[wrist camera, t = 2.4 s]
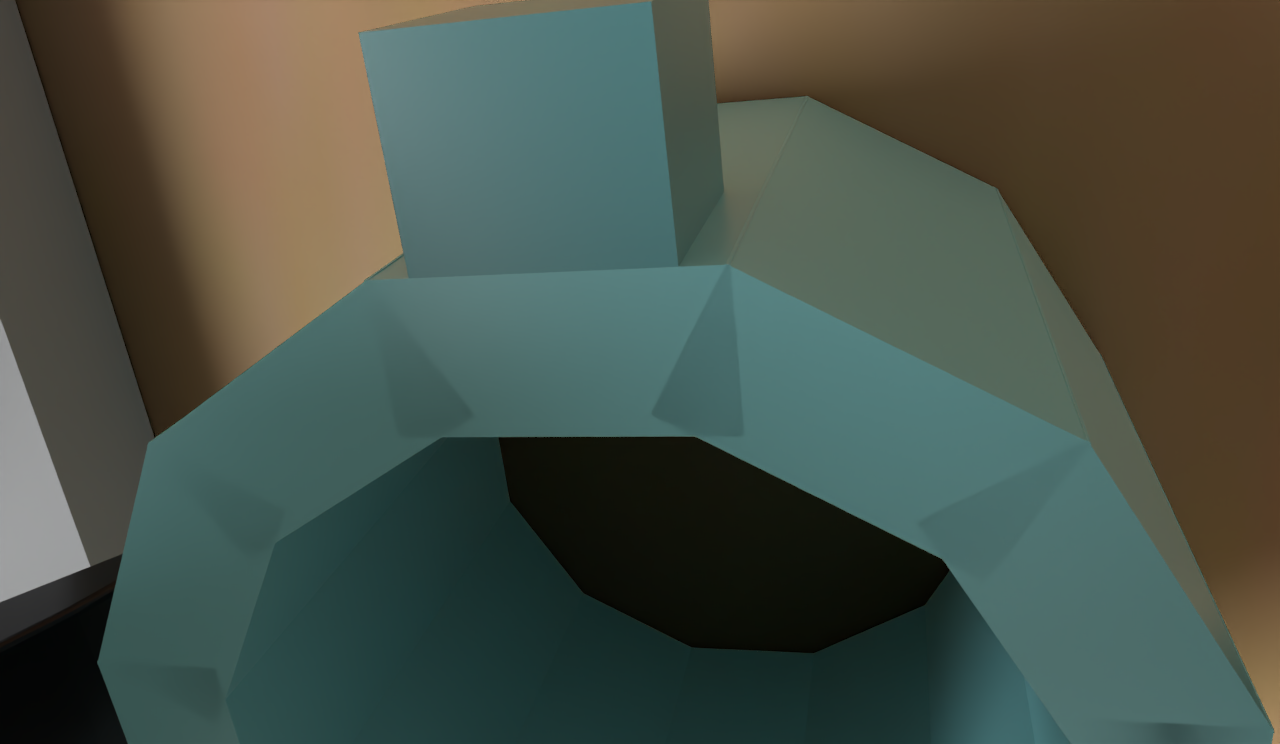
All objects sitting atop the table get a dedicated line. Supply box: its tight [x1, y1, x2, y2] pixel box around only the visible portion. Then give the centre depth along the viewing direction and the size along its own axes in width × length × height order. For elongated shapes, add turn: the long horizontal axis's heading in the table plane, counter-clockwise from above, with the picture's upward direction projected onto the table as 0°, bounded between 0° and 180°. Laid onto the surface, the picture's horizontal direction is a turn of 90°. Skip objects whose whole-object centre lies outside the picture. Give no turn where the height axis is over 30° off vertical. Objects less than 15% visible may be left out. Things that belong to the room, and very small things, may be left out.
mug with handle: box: [97, 0, 1274, 744], centre depth 9 cm, size 8×7×5 cm
